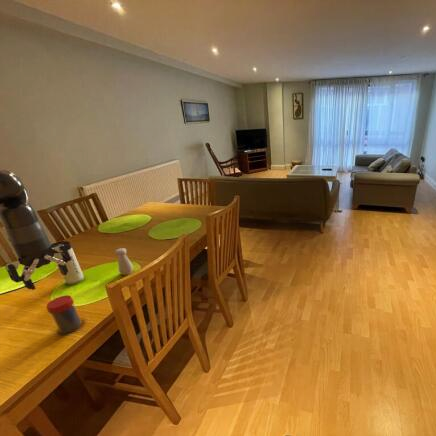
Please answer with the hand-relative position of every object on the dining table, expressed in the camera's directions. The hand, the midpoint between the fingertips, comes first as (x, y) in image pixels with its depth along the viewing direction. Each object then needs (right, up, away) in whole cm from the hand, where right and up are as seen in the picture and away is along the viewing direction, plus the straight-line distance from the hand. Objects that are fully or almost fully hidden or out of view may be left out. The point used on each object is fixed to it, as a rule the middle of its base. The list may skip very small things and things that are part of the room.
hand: (49, 281), depth 79 cm
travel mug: (-21, -9, +32) cm, 39 cm away
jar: (0, -18, +8) cm, 20 cm away
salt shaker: (-1, -6, +38) cm, 39 cm away
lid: (0, -8, +3) cm, 9 cm away
